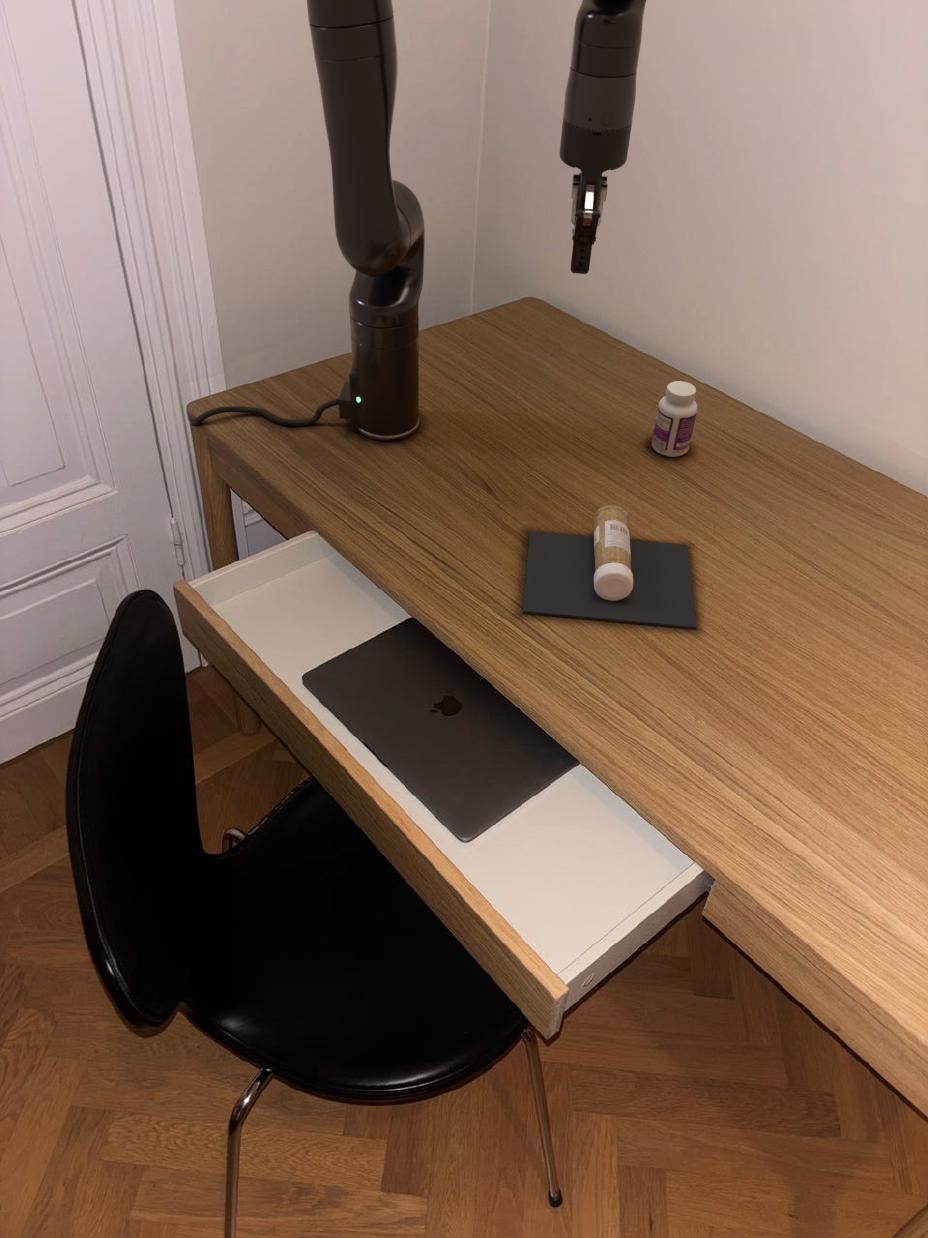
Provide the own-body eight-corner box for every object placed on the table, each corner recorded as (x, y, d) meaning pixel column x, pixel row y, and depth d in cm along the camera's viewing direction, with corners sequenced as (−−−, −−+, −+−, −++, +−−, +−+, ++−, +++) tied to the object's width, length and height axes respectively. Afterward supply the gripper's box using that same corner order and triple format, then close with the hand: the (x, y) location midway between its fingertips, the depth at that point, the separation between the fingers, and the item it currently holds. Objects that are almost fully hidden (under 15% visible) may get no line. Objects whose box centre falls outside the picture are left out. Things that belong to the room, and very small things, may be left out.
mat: (522, 613, 110) (523, 610, 110) (529, 533, 121) (529, 530, 121) (695, 629, 109) (696, 627, 109) (687, 547, 120) (687, 544, 120)
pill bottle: (687, 438, 138) (700, 379, 131) (689, 459, 134) (703, 399, 127) (649, 435, 138) (661, 376, 131) (651, 456, 134) (663, 396, 128)
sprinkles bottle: (585, 518, 120) (585, 588, 110) (611, 497, 117) (613, 566, 108) (611, 538, 122) (613, 608, 112) (637, 517, 119) (641, 587, 109)
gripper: (564, 95, 108) (550, 246, 120) (561, 132, 98) (546, 292, 110) (631, 99, 107) (609, 251, 119) (634, 137, 98) (610, 297, 110)
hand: (579, 270), depth 115 cm, fingers closed
